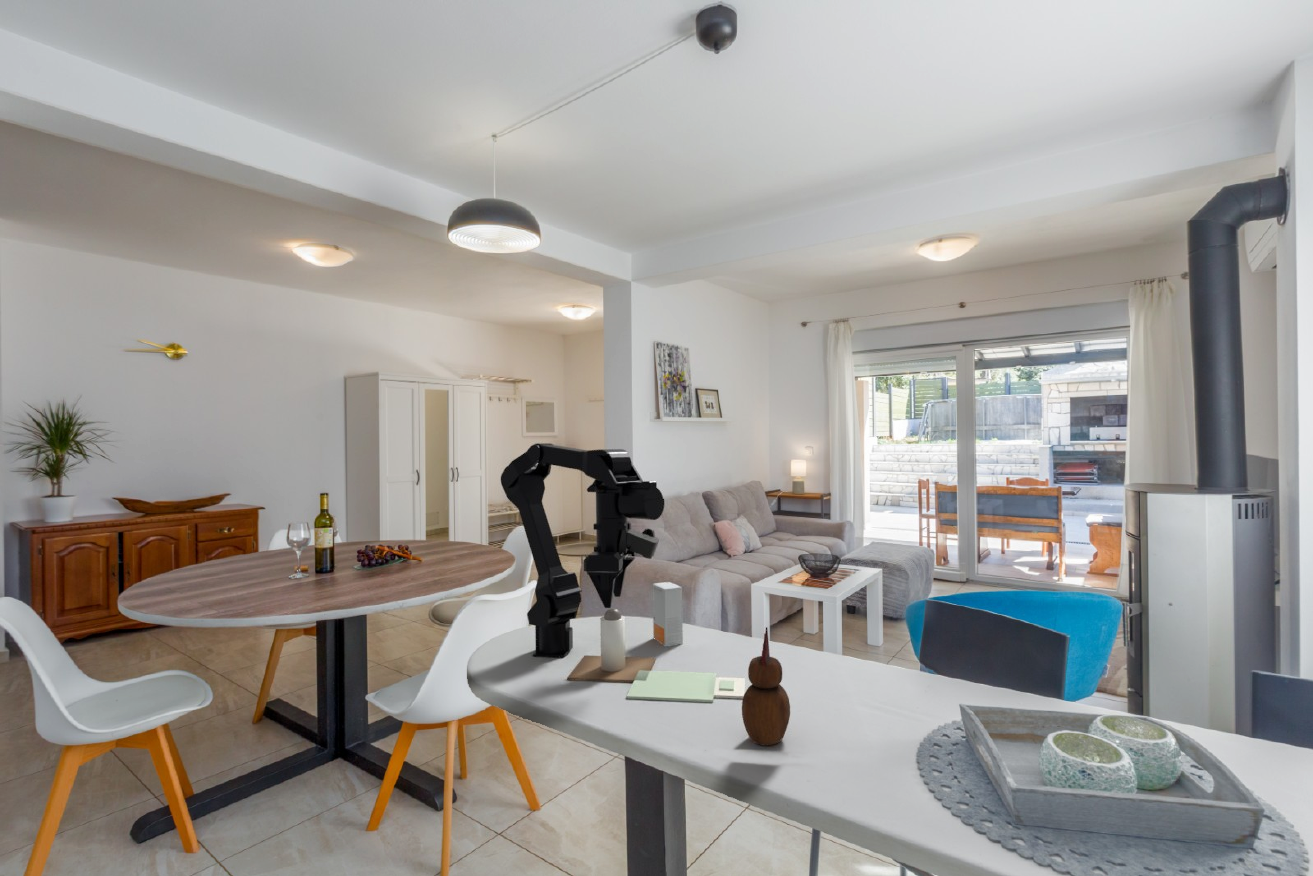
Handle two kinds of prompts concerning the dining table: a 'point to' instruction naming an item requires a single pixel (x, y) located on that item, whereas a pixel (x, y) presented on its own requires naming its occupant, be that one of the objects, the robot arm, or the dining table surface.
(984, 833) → the dining table surface
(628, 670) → the walnut mat
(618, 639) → the bottle
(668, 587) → the skincare box
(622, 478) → the robot arm
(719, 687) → the card
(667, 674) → the green mat
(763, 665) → the wooden figurine
